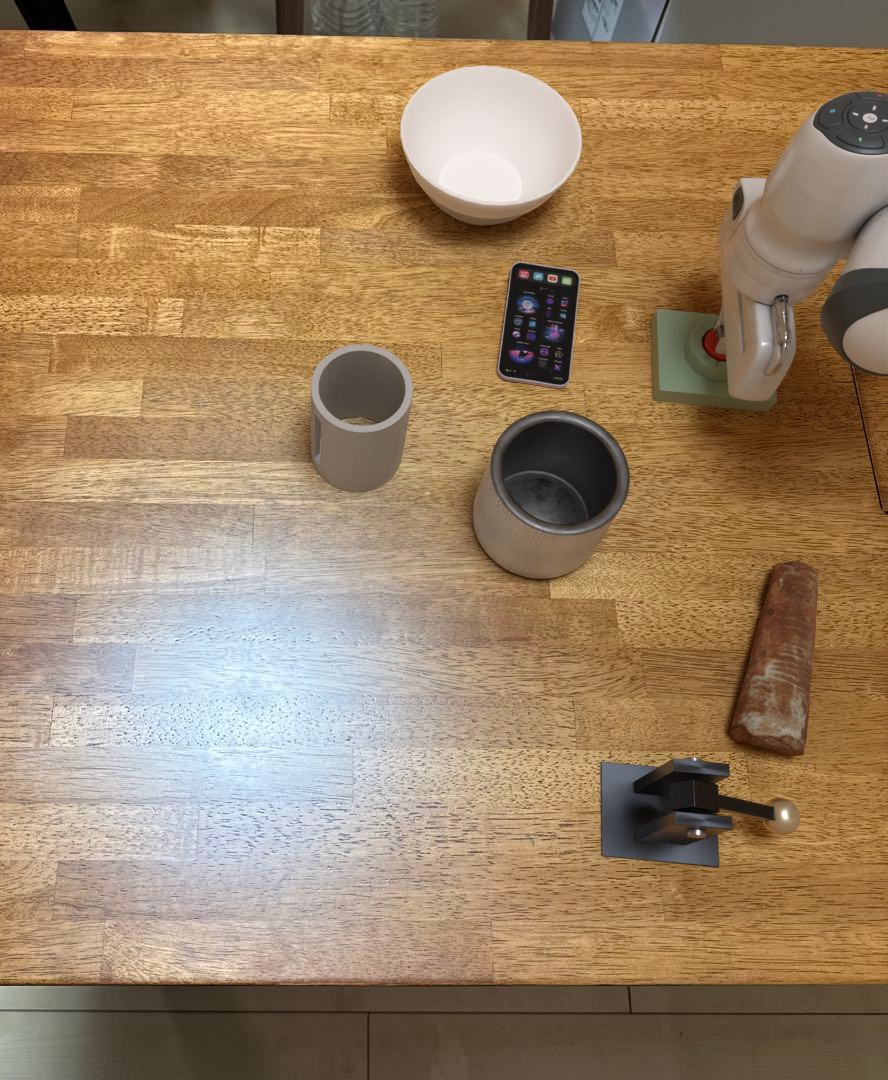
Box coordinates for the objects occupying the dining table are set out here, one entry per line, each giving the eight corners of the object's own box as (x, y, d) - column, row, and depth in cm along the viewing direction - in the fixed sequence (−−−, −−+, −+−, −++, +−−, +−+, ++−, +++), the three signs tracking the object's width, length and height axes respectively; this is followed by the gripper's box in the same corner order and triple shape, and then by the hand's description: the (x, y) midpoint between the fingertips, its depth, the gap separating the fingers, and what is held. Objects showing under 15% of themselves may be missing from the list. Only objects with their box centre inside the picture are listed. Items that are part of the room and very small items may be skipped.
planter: (504, 600, 96) (527, 556, 86) (450, 489, 101) (465, 434, 90) (621, 556, 98) (657, 507, 88) (563, 448, 103) (591, 390, 93)
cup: (419, 440, 103) (431, 376, 92) (370, 508, 100) (377, 450, 88) (344, 396, 104) (347, 328, 93) (293, 461, 101) (291, 398, 90)
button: (733, 339, 106) (739, 329, 104) (735, 369, 104) (741, 359, 103) (698, 336, 106) (704, 326, 104) (700, 365, 104) (706, 356, 103)
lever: (776, 802, 87) (806, 799, 84) (778, 838, 85) (810, 836, 83) (666, 777, 81) (696, 772, 78) (667, 815, 80) (697, 812, 77)
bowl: (518, 284, 110) (533, 234, 103) (362, 210, 114) (366, 155, 106) (592, 166, 117) (612, 110, 110) (444, 99, 121) (452, 40, 113)
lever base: (709, 774, 90) (764, 747, 80) (714, 868, 87) (771, 853, 76) (597, 763, 90) (636, 735, 80) (598, 857, 87) (639, 841, 76)
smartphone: (580, 270, 111) (569, 387, 105) (579, 274, 111) (567, 390, 105) (512, 260, 111) (496, 376, 105) (511, 263, 111) (495, 379, 106)
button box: (761, 331, 109) (777, 308, 105) (768, 412, 105) (785, 391, 102) (650, 320, 109) (662, 298, 106) (652, 401, 105) (665, 380, 102)
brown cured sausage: (717, 744, 91) (741, 730, 86) (763, 562, 99) (787, 539, 94) (786, 770, 91) (814, 758, 86) (827, 585, 98) (855, 563, 93)
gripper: (826, 357, 87) (759, 435, 99) (805, 170, 95) (746, 265, 107) (752, 349, 87) (695, 429, 99) (737, 163, 95) (686, 259, 107)
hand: (721, 342), depth 103 cm, fingers closed, pressing on button
